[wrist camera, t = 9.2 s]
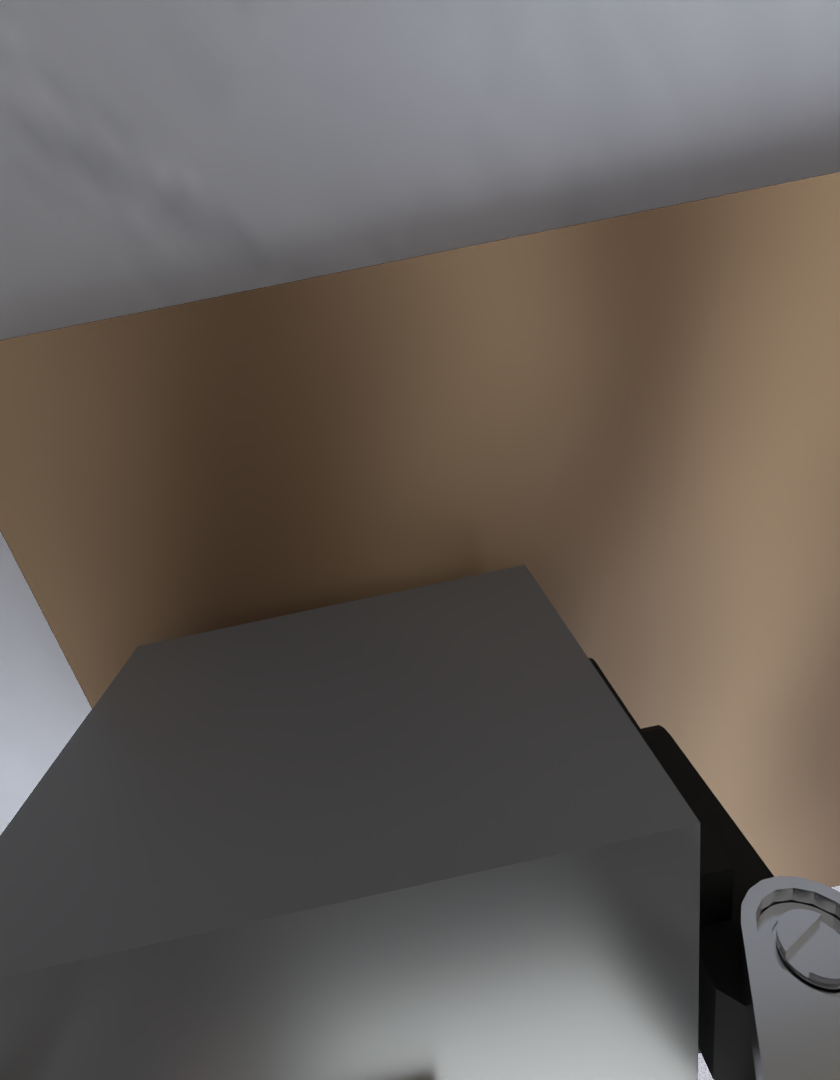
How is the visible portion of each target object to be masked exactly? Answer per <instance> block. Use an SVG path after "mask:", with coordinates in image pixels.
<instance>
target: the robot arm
mask: <svg viewBox="0 0 840 1080" xmlns="http://www.w3.org/2000/svg"><path fill="white" fill-rule="evenodd" d="M589 660H590V661H591V663H592V664H593V666H594V667H595V668H596V670H597V671H598V673H599V674H600V676H601V677H602V679H603V680H604V682H605V683H606V685H607V686H608V688H609V689H610V691H611V692H612V694H613V695H614V696H615V698H616V699H617V701H618V702H619V704H620V705H621V707H622V708H623V710H624V711H625V713H626V714H627V716H628V717H629V719H630V720H631V722H632V723H633V724H634V726H635V727H636V729H637V730H638V732H639V733H640V735H641V736H642V738H643V739H644V741H645V742H646V744H647V745H648V747H649V748H650V749H651V751H652V752H653V754H654V755H655V757H656V758H657V760H658V761H659V763H660V764H661V766H662V767H663V769H664V770H665V772H666V773H667V775H668V776H669V777H670V779H671V780H672V782H673V783H674V785H675V786H676V788H677V789H678V791H679V792H680V794H681V795H682V797H683V798H684V800H685V801H686V803H687V804H688V805H689V807H690V808H691V810H692V811H693V813H694V814H695V816H696V817H697V819H698V820H699V822H700V916H699V1012H698V1053H702V1055H703V1058H704V1060H705V1062H706V1064H707V1066H708V1069H709V1071H710V1073H711V1075H712V1077H713V1079H714V1080H840V892H838V891H836V890H834V889H832V888H830V887H828V886H827V885H825V884H822V883H819V882H815V881H812V880H809V879H805V878H802V877H791V876H776V877H774V875H773V874H772V873H771V871H770V870H769V869H768V867H767V866H766V865H765V863H764V862H763V860H762V859H761V858H760V856H759V855H758V854H757V852H756V851H755V850H754V848H753V847H752V845H751V844H750V843H749V841H748V840H747V839H746V837H745V836H744V835H743V833H742V832H741V830H740V829H739V828H738V826H737V825H736V824H735V822H734V821H733V820H732V818H731V817H730V815H729V814H728V813H727V811H726V810H725V809H724V807H723V806H722V805H721V803H720V802H719V800H718V799H717V798H716V796H715V795H714V794H713V792H712V791H711V790H710V788H709V787H708V785H707V784H706V783H705V781H704V780H703V779H702V777H701V776H700V775H699V773H698V772H697V770H696V769H695V768H694V766H693V765H692V764H691V762H690V761H689V760H688V758H687V757H686V755H685V754H684V753H683V751H682V750H681V749H680V747H679V746H678V745H677V743H676V742H675V740H674V739H673V738H672V736H671V735H670V734H669V733H668V732H667V730H666V729H665V728H664V727H662V726H660V725H656V726H651V727H646V728H642V729H640V727H639V726H638V724H637V723H636V721H635V720H634V718H633V717H632V715H631V714H630V712H629V711H628V709H627V708H626V706H625V705H624V703H623V702H622V700H621V699H620V697H619V696H618V694H617V693H616V691H615V690H614V688H613V687H612V685H611V684H610V682H609V681H608V679H607V678H606V676H605V675H604V673H603V672H602V670H601V669H600V667H599V666H598V664H597V663H596V662H595V660H594V659H592V658H589Z"/></svg>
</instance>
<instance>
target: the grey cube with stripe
mask: <svg viewBox="0 0 840 1080" xmlns="http://www.w3.org/2000/svg"><path fill="white" fill-rule="evenodd" d="M699 916H700V822H699V820H698V819H697V817H696V816H695V814H694V813H693V811H692V810H691V808H690V807H689V805H688V804H687V803H686V801H685V800H684V798H683V797H682V795H681V794H680V792H679V791H678V789H677V788H676V786H675V785H674V783H673V782H672V780H671V779H670V777H669V776H668V775H667V773H666V772H665V770H664V769H663V767H662V766H661V764H660V763H659V761H658V760H657V758H656V757H655V755H654V754H653V752H652V751H651V749H650V748H649V747H648V745H647V744H646V742H645V741H644V739H643V738H642V736H641V735H640V733H639V732H638V730H637V729H636V727H635V726H634V724H633V723H632V722H631V720H630V719H629V717H628V716H627V714H626V713H625V711H624V710H623V708H622V707H621V705H620V704H619V702H618V701H617V699H616V698H615V696H614V695H613V694H612V692H611V691H610V689H609V688H608V686H607V685H606V683H605V682H604V680H603V679H602V677H601V676H600V674H599V673H598V671H597V670H596V668H595V667H594V666H593V664H592V663H591V661H590V660H589V658H588V657H587V655H586V654H585V652H584V651H583V649H582V648H581V646H580V645H579V643H578V642H577V641H576V639H575V638H574V636H573V635H572V633H571V632H570V630H569V629H568V627H567V626H566V624H565V623H564V621H563V620H562V618H561V617H560V615H559V614H558V613H557V611H556V610H555V608H554V607H553V605H552V604H551V602H550V601H549V599H548V598H547V596H546V595H545V593H544V592H543V590H542V589H541V588H540V586H539V585H538V583H537V582H536V580H535V579H534V577H533V576H532V574H531V573H530V571H529V570H528V568H527V567H526V565H521V566H517V567H512V568H507V569H502V570H498V571H493V572H488V573H483V574H479V575H474V576H469V577H464V578H460V579H455V580H450V581H445V582H441V583H436V584H431V585H426V586H422V587H417V588H412V589H408V590H403V591H398V592H393V593H389V594H384V595H379V596H374V597H370V598H365V599H360V600H355V601H351V602H346V603H341V604H336V605H332V606H327V607H322V608H317V609H313V610H308V611H303V612H298V613H294V614H289V615H284V616H279V617H275V618H270V619H265V620H260V621H256V622H251V623H246V624H241V625H237V626H232V627H227V628H222V629H218V630H213V631H208V632H203V633H199V634H194V635H189V636H184V637H180V638H175V639H170V640H165V641H161V642H156V643H151V644H146V645H142V646H138V647H137V648H136V650H135V651H134V652H133V654H132V655H131V656H130V658H129V659H128V661H127V662H126V663H125V665H124V666H123V667H122V669H121V670H120V672H119V673H118V674H117V676H116V677H115V678H114V680H113V681H112V683H111V684H110V685H109V687H108V688H107V689H106V691H105V692H104V694H103V695H102V696H101V698H100V699H99V701H98V702H97V703H96V705H95V706H94V707H93V709H92V710H91V712H90V713H89V714H88V716H87V717H86V718H85V720H84V721H83V723H82V724H81V725H80V727H79V728H78V729H77V731H76V732H75V734H74V735H73V736H72V738H71V739H70V741H69V742H68V743H67V745H66V746H65V747H64V749H63V750H62V752H61V753H60V754H59V756H58V757H57V758H56V760H55V761H54V763H53V764H52V765H51V767H50V768H49V769H48V771H47V772H46V774H45V775H44V776H43V778H42V779H41V781H40V782H39V783H38V785H37V786H36V787H35V789H34V790H33V792H32V793H31V794H30V796H29V797H28V798H27V800H26V801H25V803H24V804H23V805H22V807H21V808H20V809H19V811H18V812H17V814H16V815H15V816H14V818H13V819H12V821H11V822H10V823H9V825H8V826H7V827H6V829H5V830H4V832H3V833H2V834H1V836H0V1080H698V1012H699Z"/></svg>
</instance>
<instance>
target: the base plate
mask: <svg viewBox="0 0 840 1080" xmlns="http://www.w3.org/2000/svg"><path fill="white" fill-rule="evenodd" d="M0 531H1V533H2V535H3V537H4V539H5V541H6V543H7V545H8V546H9V548H10V550H11V552H12V554H13V556H14V558H15V560H16V562H17V564H18V566H19V568H20V570H21V572H22V574H23V576H24V578H25V579H26V581H27V583H28V585H29V587H30V589H31V591H32V593H33V595H34V597H35V599H36V601H37V603H38V605H39V607H40V609H41V611H42V613H43V614H44V616H45V618H46V620H47V622H48V624H49V626H50V628H51V630H52V632H53V634H54V636H55V638H56V640H57V642H58V644H59V646H60V647H61V649H62V651H63V653H64V655H65V657H66V659H67V661H68V663H69V665H70V667H71V669H72V671H73V673H74V675H75V677H76V679H77V680H78V682H79V684H80V686H81V688H82V690H83V692H84V694H85V696H86V698H87V700H88V702H89V704H90V706H91V708H92V709H93V707H94V706H95V705H96V703H97V702H98V701H99V699H100V698H101V696H102V695H103V694H104V692H105V691H106V689H107V688H108V687H109V685H110V684H111V683H112V681H113V680H114V678H115V677H116V676H117V674H118V673H119V672H120V670H121V669H122V667H123V666H124V665H125V663H126V662H127V661H128V659H129V658H130V656H131V655H132V654H133V652H134V651H135V650H136V648H137V647H138V646H142V645H146V644H151V643H156V642H161V641H165V640H170V639H175V638H180V637H184V636H189V635H194V634H199V633H203V632H208V631H213V630H218V629H222V628H227V627H232V626H237V625H241V624H246V623H251V622H256V621H260V620H265V619H270V618H275V617H279V616H284V615H289V614H294V613H298V612H303V611H308V610H313V609H317V608H322V607H327V606H332V605H336V604H341V603H346V602H351V601H355V600H360V599H365V598H370V597H374V596H379V595H384V594H389V593H393V592H398V591H403V590H408V589H412V588H417V587H422V586H426V585H431V584H436V583H441V582H445V581H450V580H455V579H460V578H464V577H469V576H474V575H479V574H483V573H488V572H493V571H498V570H502V569H507V568H512V567H517V566H521V565H526V567H527V568H528V570H529V571H530V573H531V574H532V576H533V577H534V579H535V580H536V582H537V583H538V585H539V586H540V588H541V589H542V590H543V592H544V593H545V595H546V596H547V598H548V599H549V601H550V602H551V604H552V605H553V607H554V608H555V610H556V611H557V613H558V614H559V615H560V617H561V618H562V620H563V621H564V623H565V624H566V626H567V627H568V629H569V630H570V632H571V633H572V635H573V636H574V638H575V639H576V641H577V642H578V643H579V645H580V646H581V648H582V649H583V651H584V652H585V654H586V655H587V657H588V658H592V659H594V660H595V662H596V663H597V664H598V666H599V667H600V669H601V670H602V672H603V673H604V675H605V676H606V678H607V679H608V681H609V682H610V684H611V685H612V687H613V688H614V690H615V691H616V693H617V694H618V696H619V697H620V699H621V700H622V702H623V703H624V705H625V706H626V708H627V709H628V711H629V712H630V714H631V715H632V717H633V718H634V720H635V721H636V723H637V724H638V726H639V727H640V729H642V728H646V727H651V726H656V725H660V726H662V727H664V728H665V729H666V730H667V732H668V733H669V734H670V735H671V736H672V738H673V739H674V740H675V742H676V743H677V745H678V746H679V747H680V749H681V750H682V751H683V753H684V754H685V755H686V757H687V758H688V760H689V761H690V762H691V764H692V765H693V766H694V768H695V769H696V770H697V772H698V773H699V775H700V776H701V777H702V779H703V780H704V781H705V783H706V784H707V785H708V787H709V788H710V790H711V791H712V792H713V794H714V795H715V796H716V798H717V799H718V800H719V802H720V803H721V805H722V806H723V807H724V809H725V810H726V811H727V813H728V814H729V815H730V817H731V818H732V820H733V821H734V822H735V824H736V825H737V826H738V828H739V829H740V830H741V832H742V833H743V835H744V836H745V837H746V839H747V840H748V841H749V843H750V844H751V845H752V847H753V848H754V850H755V851H756V852H757V854H758V855H759V856H760V858H761V859H762V860H763V862H764V863H765V865H766V866H767V867H768V869H769V870H770V871H771V873H772V874H773V875H774V877H776V876H791V877H802V878H805V879H809V880H812V881H815V882H819V883H822V884H825V885H827V886H828V887H835V886H839V885H840V172H837V173H832V174H827V175H822V176H817V177H812V178H807V179H802V180H797V181H792V182H787V183H782V184H777V185H772V186H767V187H762V188H757V189H752V190H747V191H742V192H737V193H732V194H727V195H722V196H717V197H712V198H707V199H702V200H697V201H692V202H687V203H682V204H677V205H672V206H667V207H662V208H657V209H652V210H647V211H642V212H637V213H632V214H627V215H622V216H617V217H612V218H607V219H602V220H597V221H593V222H588V223H583V224H578V225H573V226H568V227H563V228H558V229H553V230H548V231H543V232H538V233H533V234H528V235H523V236H518V237H513V238H508V239H503V240H498V241H493V242H488V243H483V244H478V245H473V246H468V247H463V248H458V249H453V250H448V251H443V252H438V253H433V254H428V255H423V256H418V257H413V258H408V259H403V260H398V261H393V262H388V263H383V264H378V265H373V266H368V267H363V268H358V269H353V270H348V271H343V272H338V273H333V274H329V275H324V276H319V277H314V278H309V279H304V280H299V281H294V282H289V283H284V284H279V285H274V286H269V287H264V288H259V289H254V290H249V291H244V292H239V293H234V294H229V295H224V296H219V297H214V298H209V299H204V300H199V301H194V302H189V303H184V304H179V305H174V306H169V307H164V308H159V309H154V310H149V311H144V312H139V313H134V314H129V315H124V316H119V317H114V318H109V319H104V320H99V321H94V322H89V323H84V324H79V325H74V326H69V327H64V328H60V329H55V330H50V331H45V332H40V333H35V334H30V335H25V336H20V337H15V338H10V339H5V340H0Z"/></svg>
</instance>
